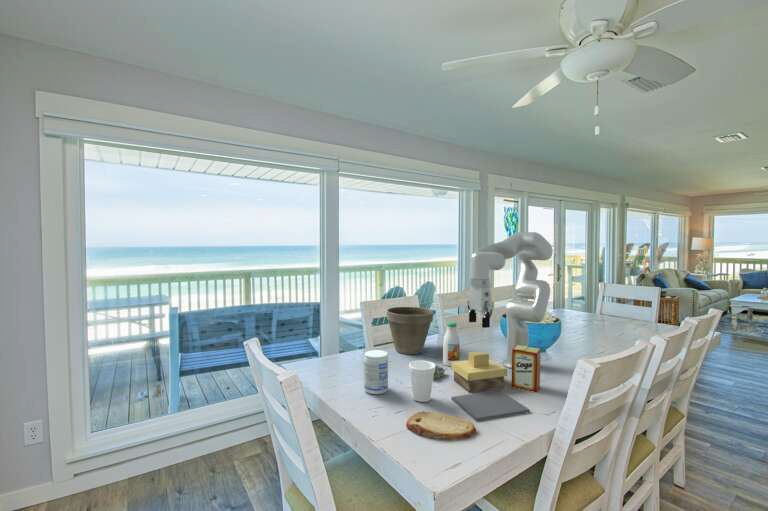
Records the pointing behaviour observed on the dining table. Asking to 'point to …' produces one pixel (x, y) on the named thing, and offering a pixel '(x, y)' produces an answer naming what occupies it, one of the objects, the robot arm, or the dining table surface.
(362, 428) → the dining table surface
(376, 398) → the dining table surface
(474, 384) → the box
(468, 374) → the lid
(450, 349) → the milk bottle
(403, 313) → the plant pot
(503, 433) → the dining table surface
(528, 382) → the baking soda box
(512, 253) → the robot arm
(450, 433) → the slice of bread
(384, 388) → the supplement tub
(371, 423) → the dining table surface
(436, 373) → the egg carton
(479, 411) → the mat
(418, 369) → the cup
